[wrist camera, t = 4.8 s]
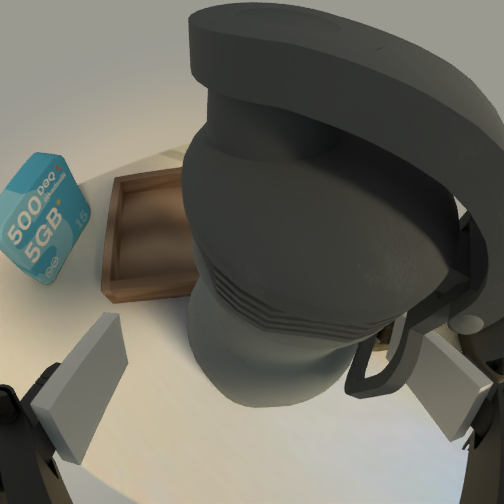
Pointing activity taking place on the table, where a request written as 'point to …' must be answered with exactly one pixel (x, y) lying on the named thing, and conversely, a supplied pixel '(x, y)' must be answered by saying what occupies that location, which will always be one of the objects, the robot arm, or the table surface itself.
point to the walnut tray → (148, 240)
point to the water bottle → (333, 202)
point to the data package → (41, 216)
